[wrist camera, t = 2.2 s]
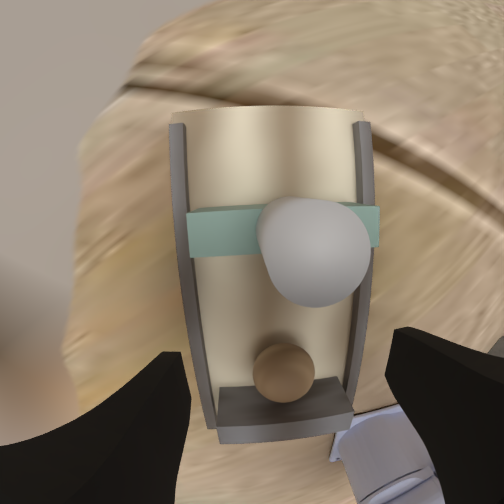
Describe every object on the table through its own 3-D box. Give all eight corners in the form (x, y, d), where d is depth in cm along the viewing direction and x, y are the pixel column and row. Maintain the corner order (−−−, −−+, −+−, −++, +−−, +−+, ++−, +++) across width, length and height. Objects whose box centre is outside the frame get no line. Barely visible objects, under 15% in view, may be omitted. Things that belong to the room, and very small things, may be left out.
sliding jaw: (349, 193, 16) (446, 202, 7) (349, 242, 17) (439, 290, 8) (198, 199, 16) (148, 210, 7) (202, 250, 16) (163, 315, 7)
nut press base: (354, 116, 16) (395, 92, 11) (341, 403, 22) (360, 447, 16) (176, 119, 16) (151, 90, 10) (210, 416, 21) (205, 464, 16)
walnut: (308, 329, 18) (324, 362, 14) (306, 374, 19) (318, 410, 15) (249, 334, 18) (252, 369, 14) (252, 379, 19) (255, 417, 15)
